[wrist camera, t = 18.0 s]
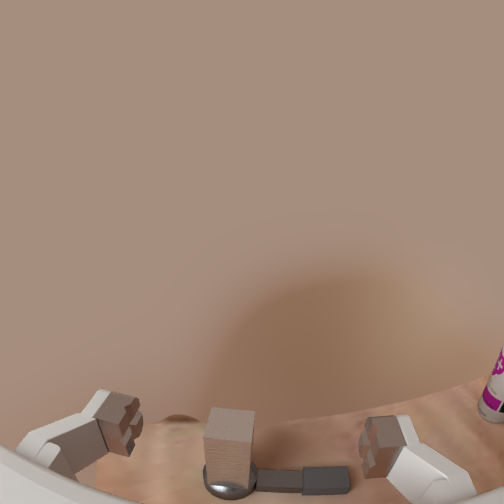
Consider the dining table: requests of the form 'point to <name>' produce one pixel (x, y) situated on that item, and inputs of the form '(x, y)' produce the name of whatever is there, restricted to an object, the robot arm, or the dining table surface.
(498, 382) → the supplement can
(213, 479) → the tall grey pillar block
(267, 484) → the ratchet
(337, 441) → the dining table surface
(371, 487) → the dining table surface
